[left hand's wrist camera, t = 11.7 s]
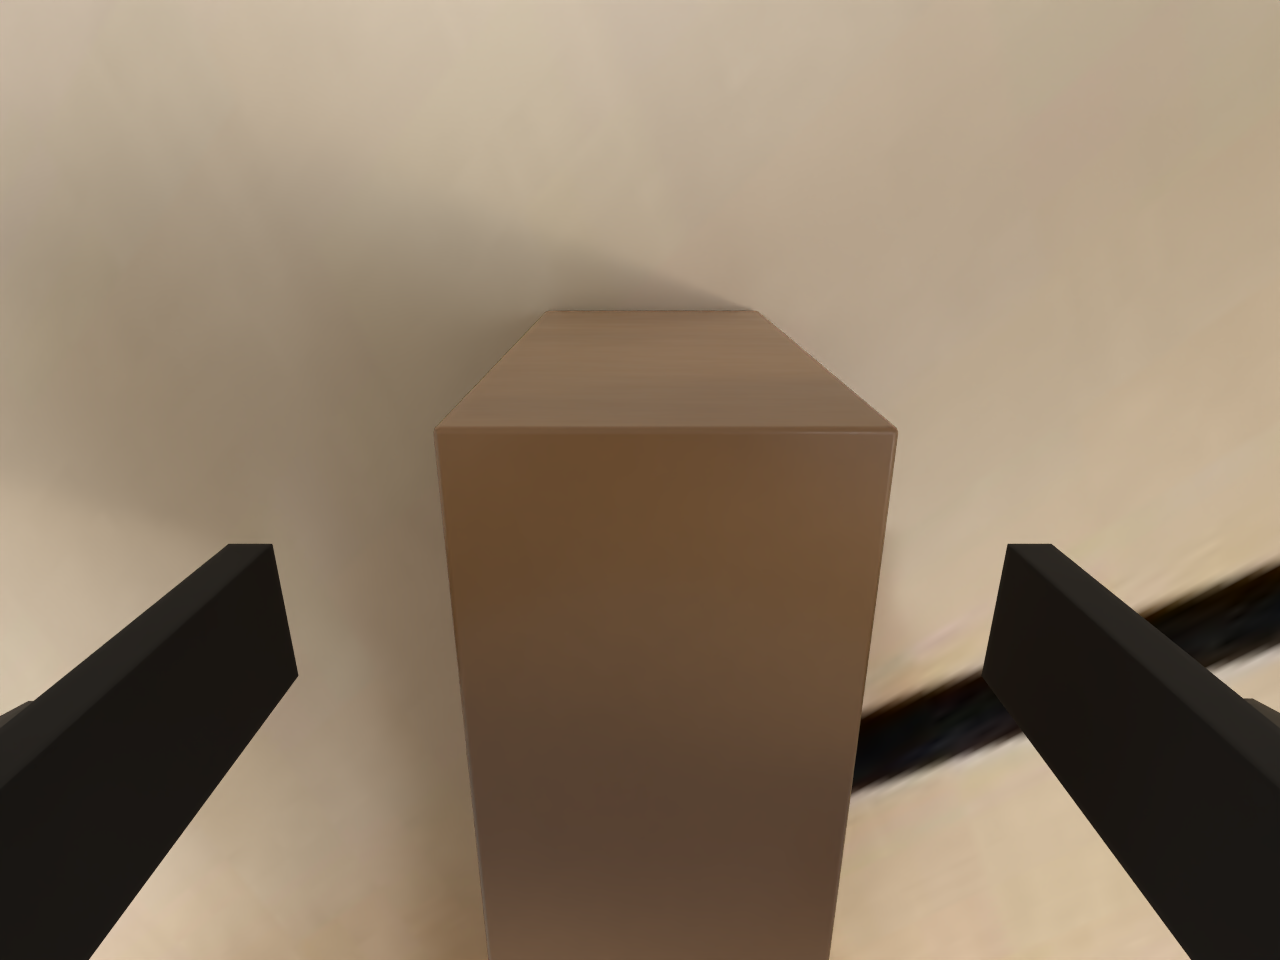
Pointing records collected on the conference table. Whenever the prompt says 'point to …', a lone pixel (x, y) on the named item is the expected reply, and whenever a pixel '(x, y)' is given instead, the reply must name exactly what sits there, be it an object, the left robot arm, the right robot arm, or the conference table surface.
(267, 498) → the conference table surface
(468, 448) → the beam
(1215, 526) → the conference table surface
